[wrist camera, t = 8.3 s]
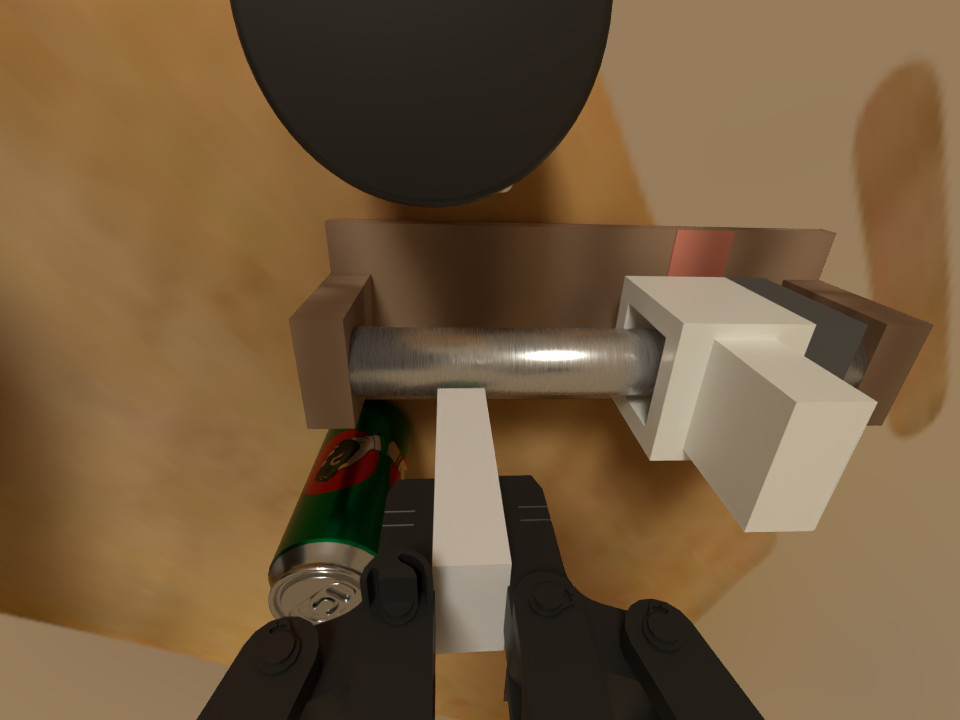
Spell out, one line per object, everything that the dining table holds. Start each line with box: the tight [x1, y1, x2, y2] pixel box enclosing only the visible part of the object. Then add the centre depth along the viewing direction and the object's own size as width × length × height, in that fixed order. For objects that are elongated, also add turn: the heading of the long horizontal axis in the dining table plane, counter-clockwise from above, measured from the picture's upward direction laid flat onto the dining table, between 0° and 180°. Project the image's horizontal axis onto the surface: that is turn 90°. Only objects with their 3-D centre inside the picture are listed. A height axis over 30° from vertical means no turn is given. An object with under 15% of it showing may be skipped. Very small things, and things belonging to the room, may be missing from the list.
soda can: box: [268, 400, 413, 626], centre depth 23 cm, size 5×5×12 cm
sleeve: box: [610, 276, 878, 532], centre depth 18 cm, size 5×6×11 cm
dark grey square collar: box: [725, 277, 868, 380], centre depth 21 cm, size 2×6×6 cm, turn 178°
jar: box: [230, 0, 613, 207], centre depth 15 cm, size 9×8×12 cm
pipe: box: [348, 326, 866, 396], centre depth 20 cm, size 24×3×3 cm, turn 88°
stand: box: [289, 219, 933, 429], centre depth 22 cm, size 26×10×8 cm, turn 88°
